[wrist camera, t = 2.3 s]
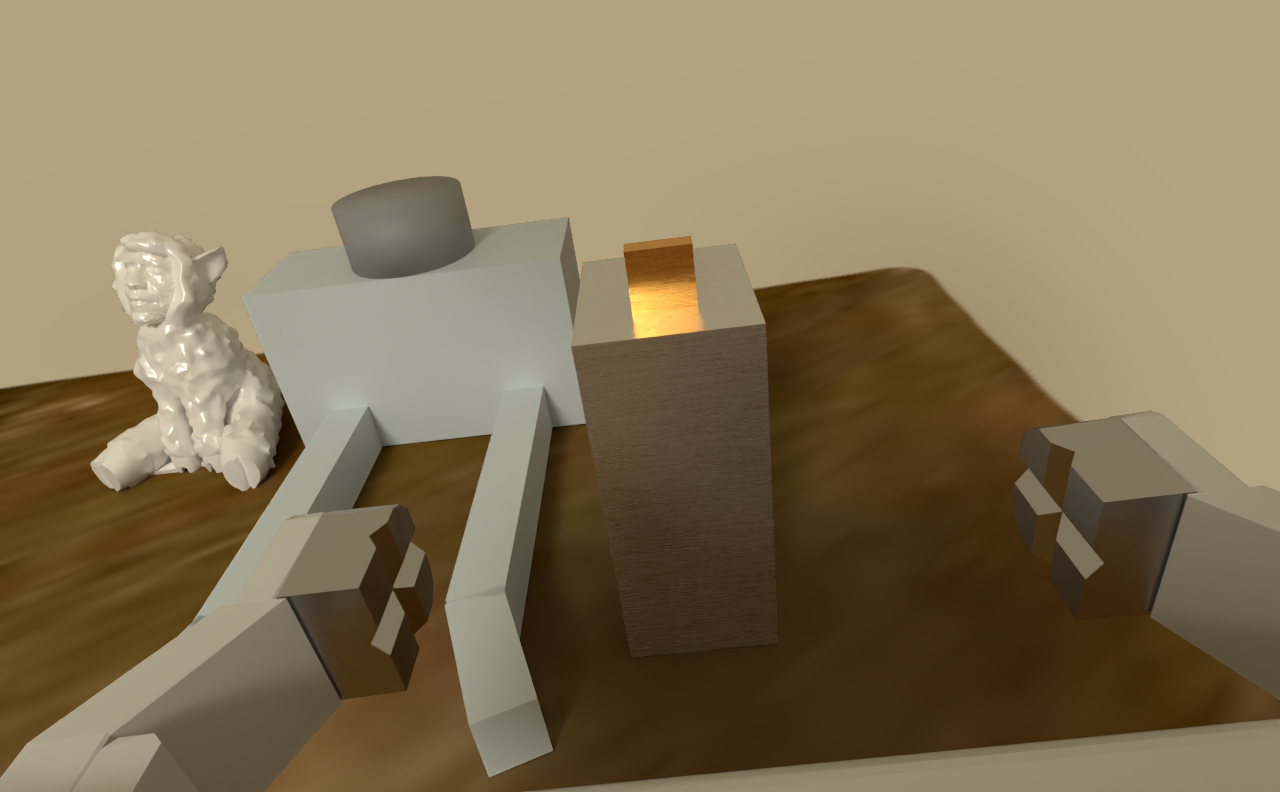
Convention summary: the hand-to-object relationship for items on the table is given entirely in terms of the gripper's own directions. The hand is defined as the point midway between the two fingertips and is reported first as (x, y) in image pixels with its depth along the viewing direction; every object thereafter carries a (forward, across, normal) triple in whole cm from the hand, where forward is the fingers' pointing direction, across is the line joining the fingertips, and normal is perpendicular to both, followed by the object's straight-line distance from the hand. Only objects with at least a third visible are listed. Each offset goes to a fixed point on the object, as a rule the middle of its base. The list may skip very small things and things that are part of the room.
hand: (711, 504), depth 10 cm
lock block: (+12, +1, +14) cm, 19 cm away
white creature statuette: (+26, +26, +14) cm, 39 cm away
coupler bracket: (+18, +13, +14) cm, 26 cm away
